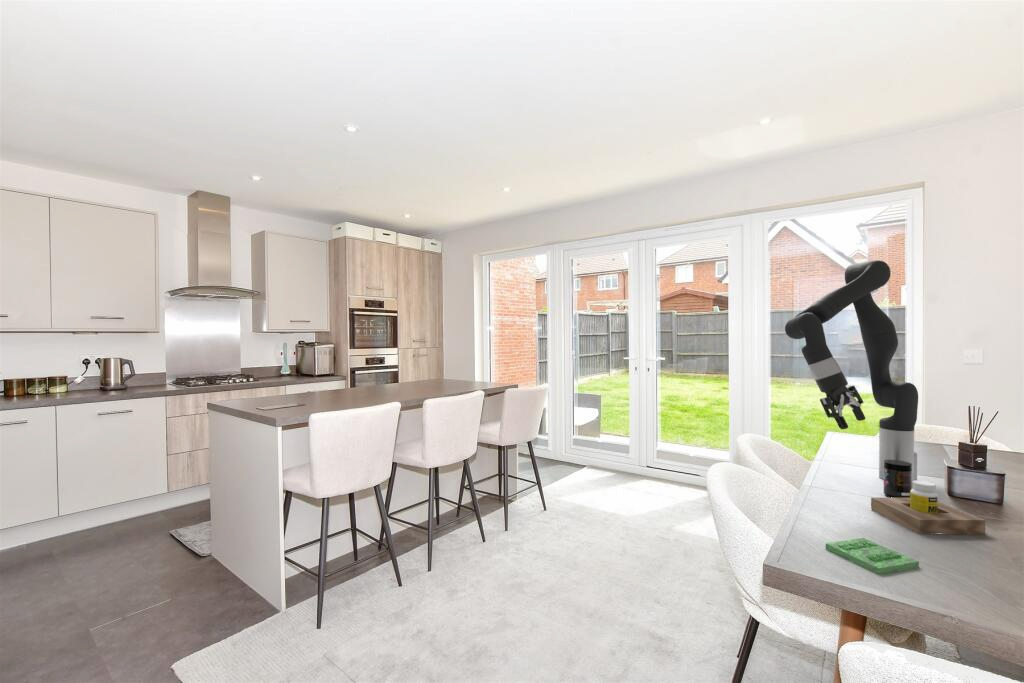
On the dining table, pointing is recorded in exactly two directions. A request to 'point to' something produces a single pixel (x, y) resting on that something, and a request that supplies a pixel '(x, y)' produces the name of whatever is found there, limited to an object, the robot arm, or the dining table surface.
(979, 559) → the dining table surface
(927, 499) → the supplement bottle
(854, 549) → the green jade tablet
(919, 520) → the walnut pocket block
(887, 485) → the supplement container
